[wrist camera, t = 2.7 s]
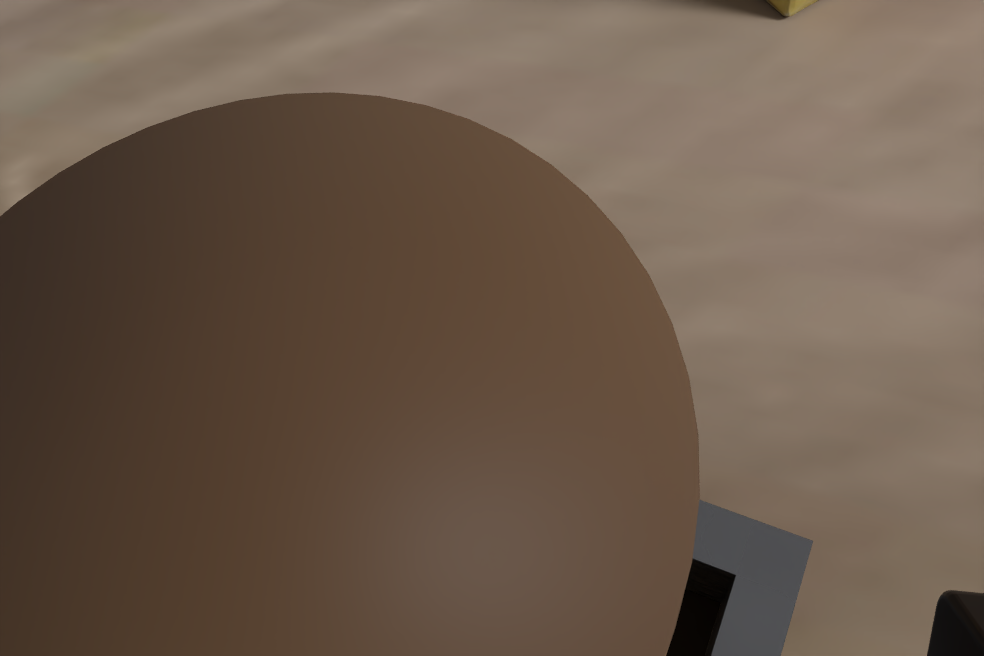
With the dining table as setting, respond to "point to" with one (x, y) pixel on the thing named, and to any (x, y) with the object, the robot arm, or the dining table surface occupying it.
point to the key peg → (335, 398)
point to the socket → (746, 580)
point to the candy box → (790, 5)
